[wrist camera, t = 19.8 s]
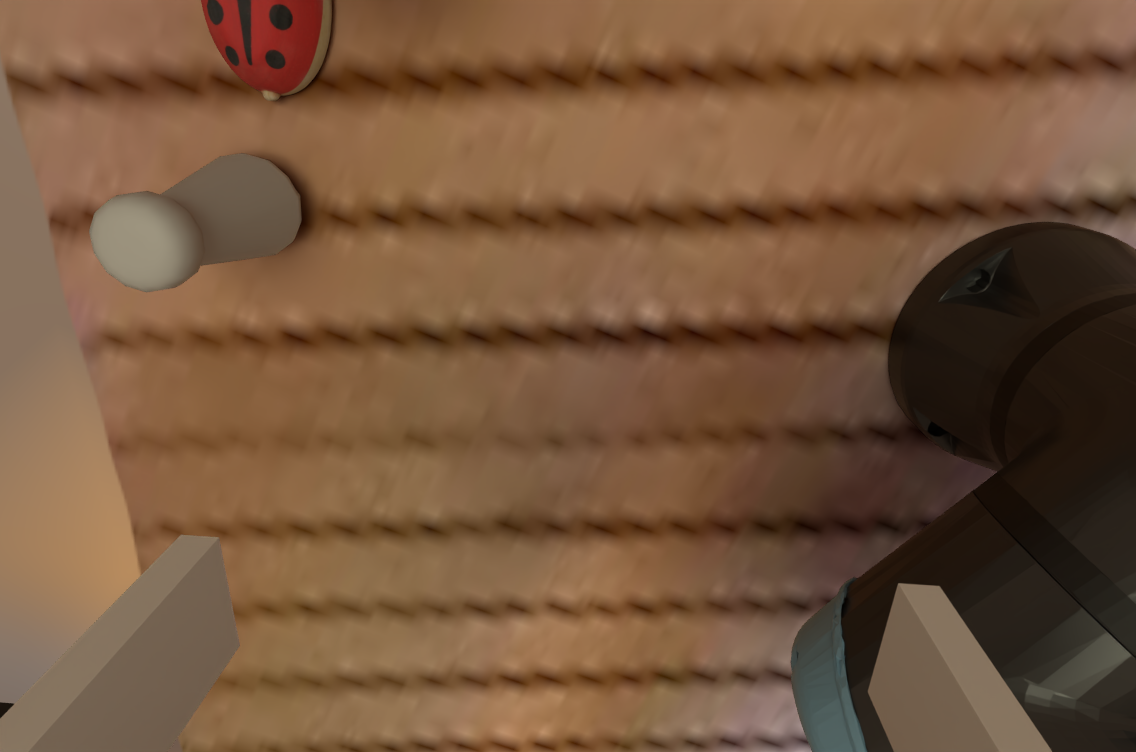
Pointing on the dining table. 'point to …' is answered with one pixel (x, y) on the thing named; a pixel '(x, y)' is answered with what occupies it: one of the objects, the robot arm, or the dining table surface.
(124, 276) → the salt shaker
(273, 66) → the ladybug figurine
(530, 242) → the dining table surface
